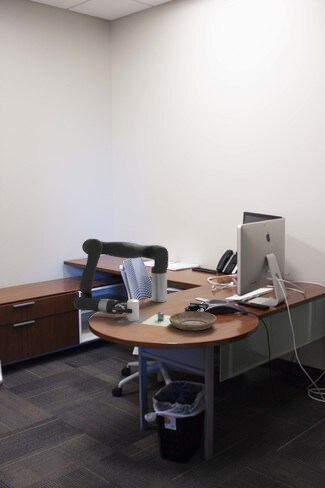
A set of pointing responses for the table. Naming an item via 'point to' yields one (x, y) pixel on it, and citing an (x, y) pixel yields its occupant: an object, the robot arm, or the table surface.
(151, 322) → the board
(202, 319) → the ceramic bowl
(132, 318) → the white lidded canister
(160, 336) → the table surface
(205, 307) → the end cap
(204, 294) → the table surface
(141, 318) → the mat
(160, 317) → the peg
